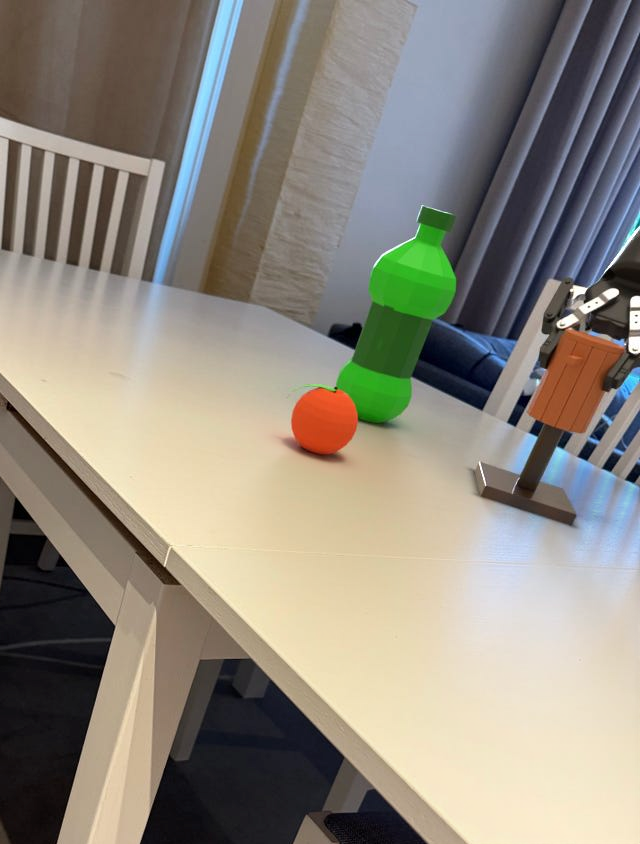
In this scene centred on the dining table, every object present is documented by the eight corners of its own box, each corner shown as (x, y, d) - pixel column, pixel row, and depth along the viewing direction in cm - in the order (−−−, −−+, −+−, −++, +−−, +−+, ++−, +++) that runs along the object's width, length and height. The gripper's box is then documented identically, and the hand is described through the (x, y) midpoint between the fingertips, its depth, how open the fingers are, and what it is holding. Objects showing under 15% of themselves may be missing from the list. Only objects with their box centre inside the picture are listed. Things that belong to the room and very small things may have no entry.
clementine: (267, 445, 96) (289, 378, 93) (279, 431, 102) (299, 368, 99) (340, 470, 95) (365, 403, 92) (348, 454, 101) (371, 391, 98)
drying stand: (557, 500, 107) (624, 364, 100) (570, 527, 99) (645, 380, 91) (473, 473, 108) (534, 336, 101) (479, 498, 100) (546, 350, 92)
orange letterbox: (537, 410, 103) (574, 329, 99) (590, 431, 100) (631, 348, 96) (511, 414, 96) (550, 328, 92) (568, 437, 94) (611, 349, 89)
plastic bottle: (309, 402, 119) (379, 193, 107) (356, 403, 126) (428, 207, 114) (369, 432, 113) (451, 214, 101) (416, 431, 120) (497, 227, 108)
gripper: (596, 215, 99) (512, 325, 95) (735, 255, 92) (651, 374, 89) (585, 269, 105) (507, 374, 102) (715, 310, 99) (635, 423, 96)
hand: (574, 374), depth 96 cm, fingers closed on orange letterbox, 6 cm apart
